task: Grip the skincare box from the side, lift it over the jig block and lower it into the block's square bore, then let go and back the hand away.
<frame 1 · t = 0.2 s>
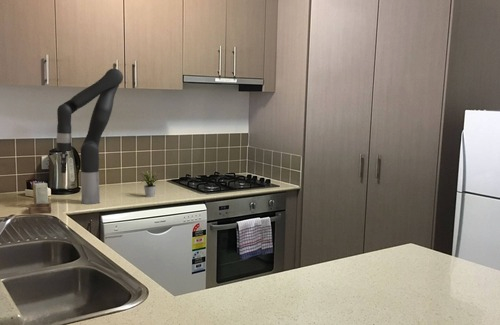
hand: (63, 171, 256), 17 cm above the countertop, tool pointing down, fingers open, 8 cm apart
skincare box: (40, 206, 252), on the countertop
jig block: (40, 211, 241), on the countertop
house plant: (147, 196, 284), on the countertop
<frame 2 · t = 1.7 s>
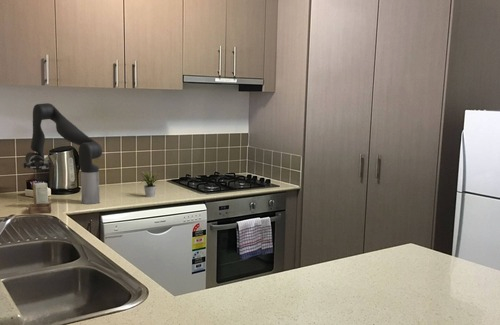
hand: (38, 166, 259), 20 cm above the countertop, tool horizontal, fingers open, 8 cm apart
nothing on the countertop moved.
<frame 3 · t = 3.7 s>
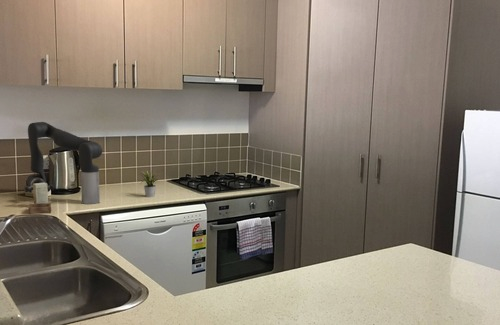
hand: (39, 190, 258), 7 cm above the countertop, tool horizontal, fingers open, 8 cm apart
nothing on the countertop moved.
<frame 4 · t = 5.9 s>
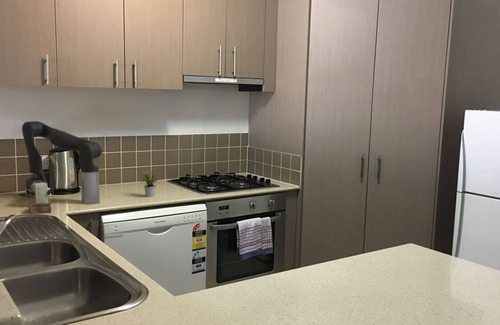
hand: (40, 193, 249), 7 cm above the countertop, tool horizontal, fingers closed on skincare box, 7 cm apart
skincare box: (40, 206, 252), on the countertop, touching gripper
everything else where it was.
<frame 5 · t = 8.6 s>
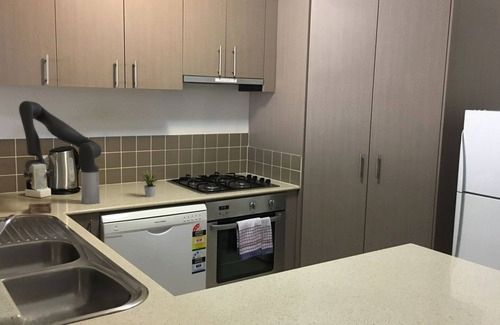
hand: (39, 175, 237), 19 cm above the countertop, tool horizontal, fingers closed on skincare box, 7 cm apart
skincare box: (39, 189, 239), point 11 cm above the countertop, touching gripper
everything else where it was.
when the fingers open (8 cm above the countertop, at t = 11.6 s): skincare box drops 1 cm, resting in jig block.
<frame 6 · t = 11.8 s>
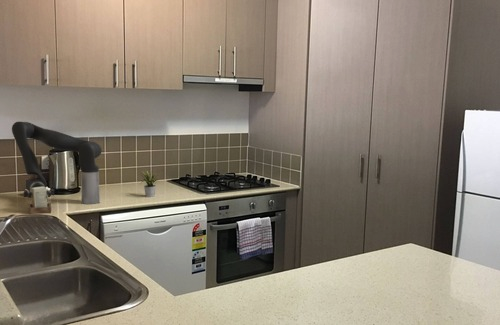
hand: (39, 195, 238), 8 cm above the countertop, tool horizontal, fingers open, 8 cm apart
skincare box: (39, 211, 241), resting in jig block
everything else where it was.
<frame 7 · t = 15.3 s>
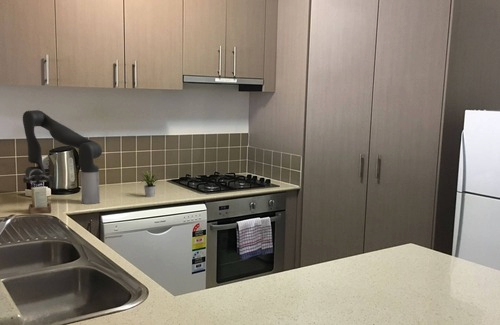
hand: (38, 180, 249), 14 cm above the countertop, tool horizontal, fingers open, 8 cm apart
nothing on the countertop moved.
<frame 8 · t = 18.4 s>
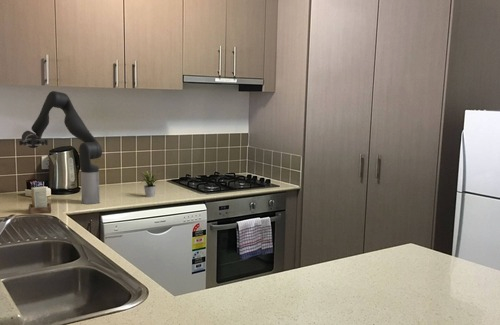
hand: (34, 143, 259), 32 cm above the countertop, tool horizontal, fingers open, 8 cm apart
nothing on the countertop moved.
at the end: skincare box 0.3 cm off-centre on the jig block, point 0.0 cm above the jig block's base; skincare box tilted 0°; the gripper is holding nothing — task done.
